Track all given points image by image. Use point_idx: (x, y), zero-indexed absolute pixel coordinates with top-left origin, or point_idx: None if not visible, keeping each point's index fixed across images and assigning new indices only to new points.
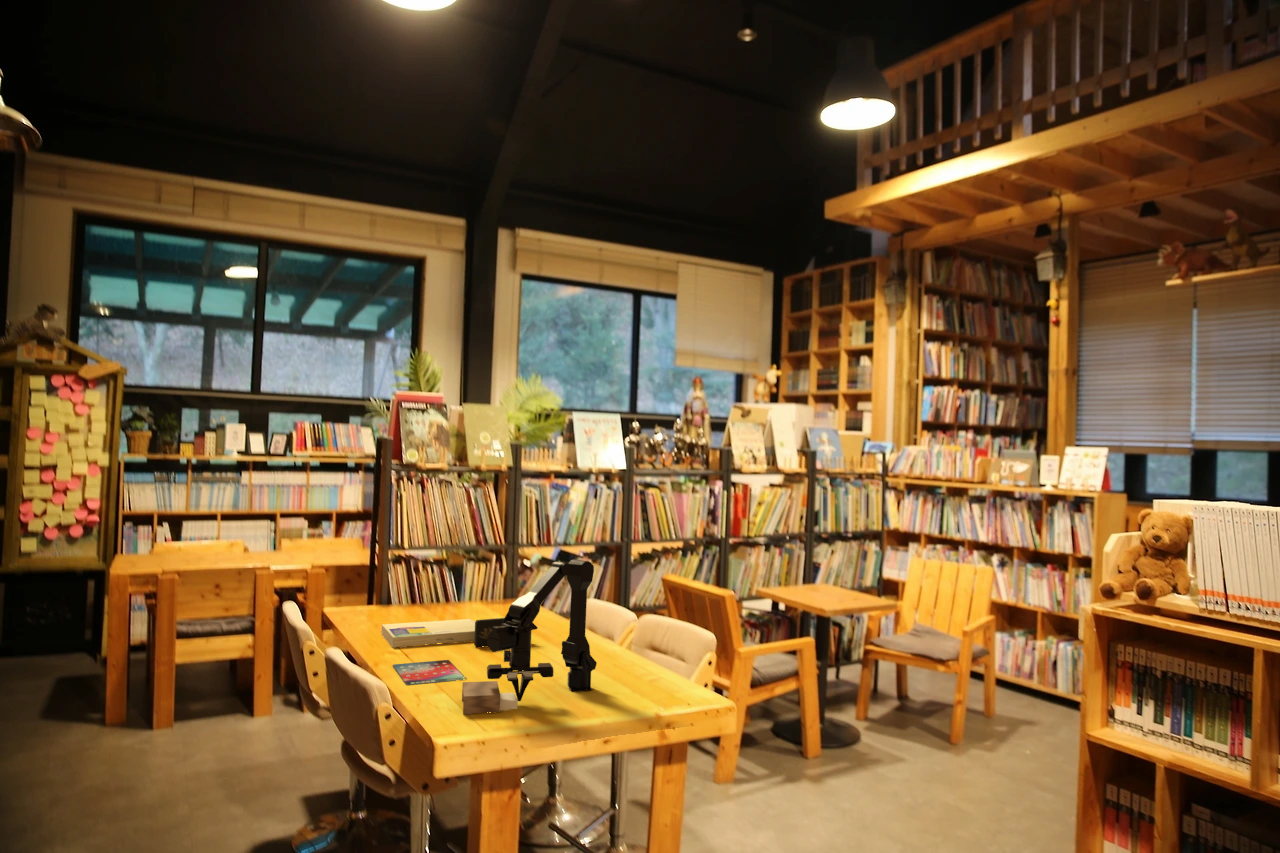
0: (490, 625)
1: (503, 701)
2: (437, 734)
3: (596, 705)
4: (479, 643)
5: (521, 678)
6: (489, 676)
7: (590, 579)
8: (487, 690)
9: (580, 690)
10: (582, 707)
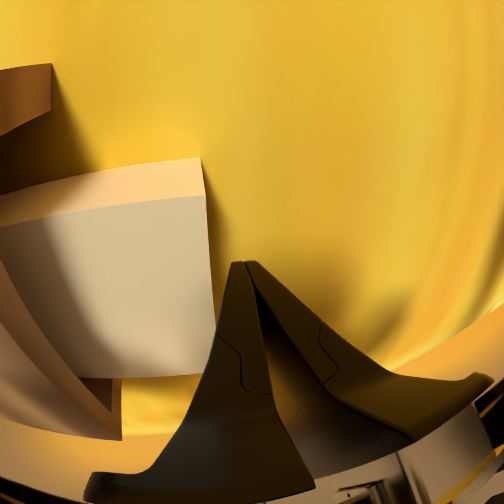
0: None
1: (130, 377)
2: None
3: (481, 271)
4: None
5: (344, 422)
6: (26, 501)
7: None
8: (11, 396)
9: None
10: (452, 288)
